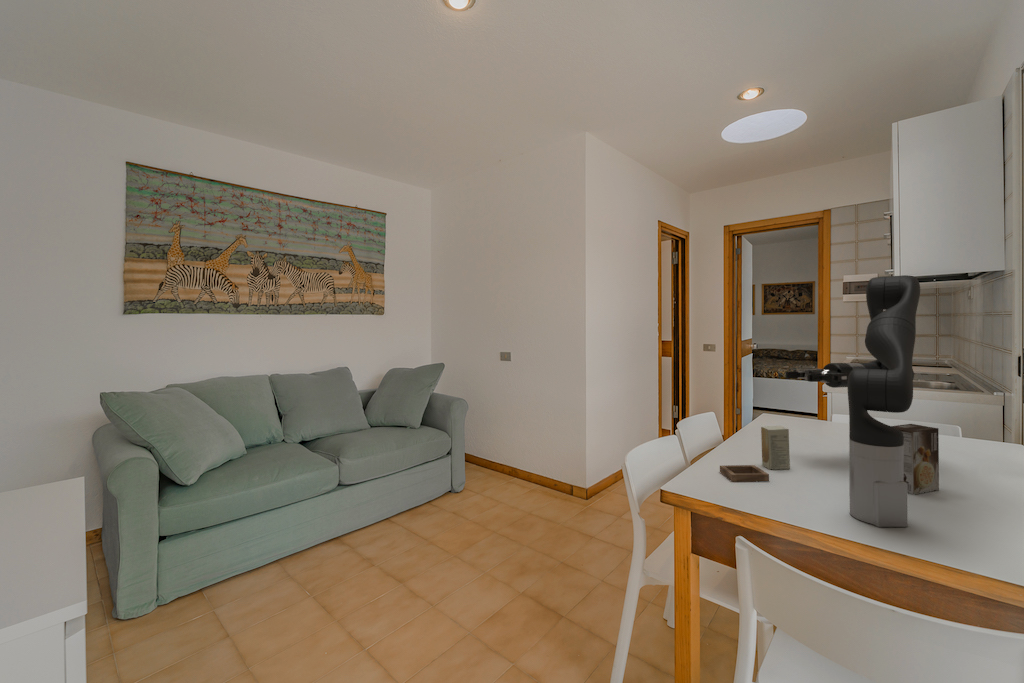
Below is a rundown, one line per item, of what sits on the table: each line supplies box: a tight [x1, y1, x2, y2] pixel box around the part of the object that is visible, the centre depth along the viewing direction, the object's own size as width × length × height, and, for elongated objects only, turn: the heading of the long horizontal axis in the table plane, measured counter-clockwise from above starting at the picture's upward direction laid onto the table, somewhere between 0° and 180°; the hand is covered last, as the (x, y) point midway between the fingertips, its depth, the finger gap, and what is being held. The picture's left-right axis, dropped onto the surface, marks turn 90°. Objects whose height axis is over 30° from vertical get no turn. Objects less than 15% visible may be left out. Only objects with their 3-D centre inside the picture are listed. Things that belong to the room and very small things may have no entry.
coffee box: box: [891, 423, 940, 495], centre depth 112 cm, size 9×6×16 cm
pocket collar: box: [719, 464, 770, 483], centre depth 124 cm, size 8×10×2 cm
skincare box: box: [760, 425, 791, 470], centre depth 131 cm, size 6×4×12 cm
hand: (797, 376), depth 131 cm, fingers open, 8 cm apart
